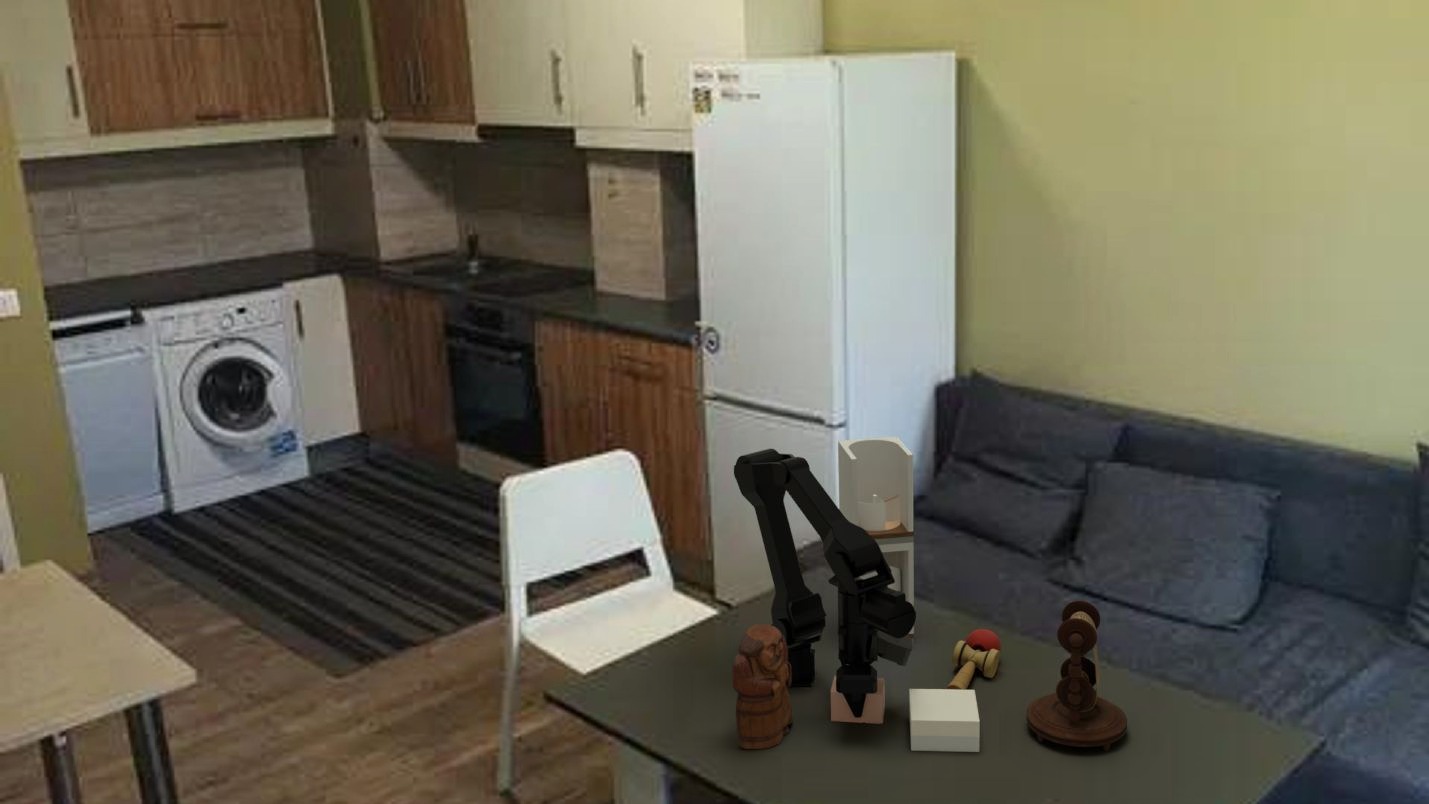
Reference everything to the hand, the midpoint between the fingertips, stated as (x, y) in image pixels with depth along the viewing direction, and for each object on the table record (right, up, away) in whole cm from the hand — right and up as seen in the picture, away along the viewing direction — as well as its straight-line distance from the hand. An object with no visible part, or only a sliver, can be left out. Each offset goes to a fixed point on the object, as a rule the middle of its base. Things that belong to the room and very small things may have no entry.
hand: (858, 707), depth 204 cm
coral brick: (0, -1, 0) cm, 1 cm away
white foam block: (+12, -2, -7) cm, 14 cm away
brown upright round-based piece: (+32, -2, -8) cm, 33 cm away
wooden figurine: (-15, -3, -5) cm, 16 cm away
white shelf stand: (+7, +6, +29) cm, 30 cm away
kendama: (+20, +2, +11) cm, 23 cm away
